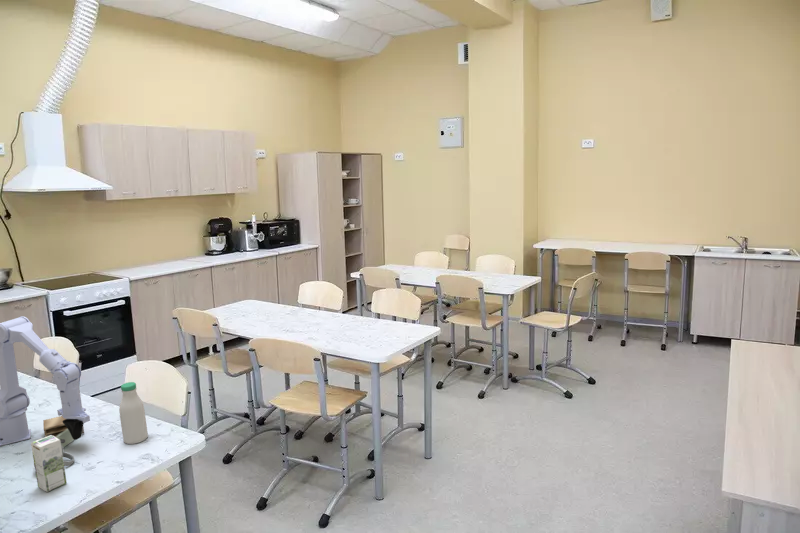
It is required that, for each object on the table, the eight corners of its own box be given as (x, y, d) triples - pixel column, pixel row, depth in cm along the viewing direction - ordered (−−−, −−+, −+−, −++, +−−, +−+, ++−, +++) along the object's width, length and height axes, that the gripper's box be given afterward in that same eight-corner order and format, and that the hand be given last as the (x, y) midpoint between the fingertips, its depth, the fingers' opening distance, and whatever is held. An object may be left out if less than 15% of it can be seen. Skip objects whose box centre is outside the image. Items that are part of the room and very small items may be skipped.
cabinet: (45, 443, 199) (43, 429, 198) (45, 433, 207) (43, 420, 206) (84, 433, 205) (82, 420, 204) (82, 424, 213) (80, 411, 212)
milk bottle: (152, 438, 199) (144, 383, 196) (129, 447, 194) (121, 390, 190) (142, 431, 205) (134, 378, 201) (119, 440, 199) (111, 385, 195)
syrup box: (57, 478, 176) (50, 433, 174) (67, 483, 173) (60, 438, 170) (37, 487, 172) (29, 441, 169) (47, 493, 168) (39, 446, 166)
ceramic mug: (34, 477, 178) (31, 453, 176) (37, 465, 185) (34, 442, 183) (74, 468, 182) (70, 445, 181) (75, 457, 189) (72, 435, 188)
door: (63, 449, 194) (61, 436, 193) (58, 448, 194) (56, 436, 193) (84, 434, 204) (82, 422, 203) (79, 434, 204) (77, 422, 203)
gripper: (96, 399, 193) (101, 437, 196) (69, 392, 200) (75, 429, 203) (75, 407, 187) (81, 446, 190) (49, 400, 194) (55, 438, 196)
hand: (77, 438), depth 196 cm, fingers closed
